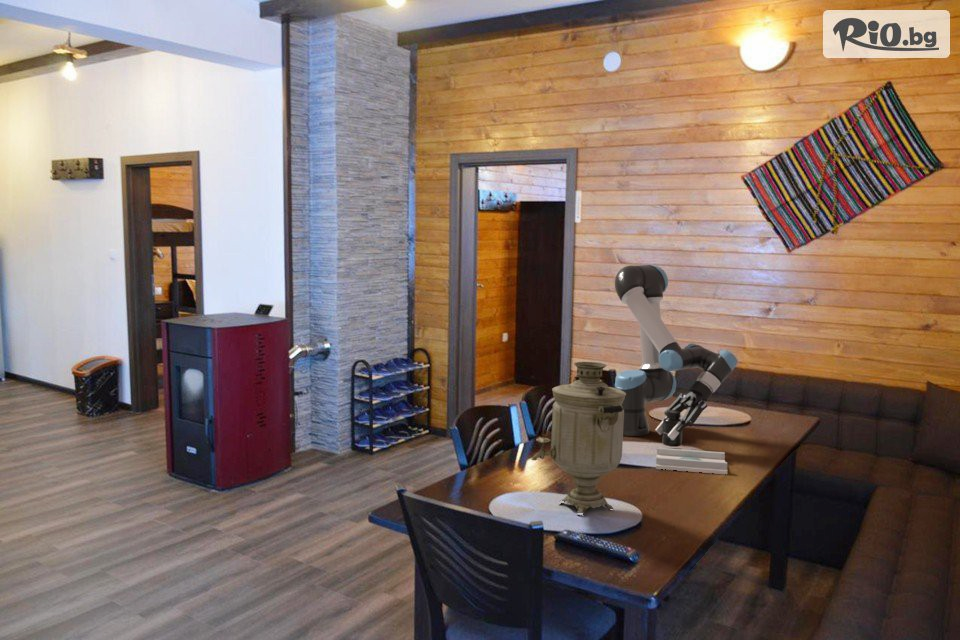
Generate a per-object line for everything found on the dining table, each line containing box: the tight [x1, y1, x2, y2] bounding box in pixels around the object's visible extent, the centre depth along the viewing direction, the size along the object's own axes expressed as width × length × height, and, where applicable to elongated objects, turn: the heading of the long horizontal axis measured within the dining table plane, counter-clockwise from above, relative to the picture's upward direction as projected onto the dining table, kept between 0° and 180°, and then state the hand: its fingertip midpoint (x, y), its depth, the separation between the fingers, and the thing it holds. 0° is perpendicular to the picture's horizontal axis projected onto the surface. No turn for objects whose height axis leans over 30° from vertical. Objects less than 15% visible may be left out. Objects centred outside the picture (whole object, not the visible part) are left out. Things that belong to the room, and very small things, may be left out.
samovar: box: [531, 361, 626, 514], centre depth 202 cm, size 30×26×40 cm
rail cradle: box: [655, 447, 729, 475], centre depth 243 cm, size 22×16×3 cm
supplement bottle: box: [661, 410, 684, 448], centre depth 261 cm, size 7×7×12 cm
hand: (664, 434), depth 260 cm, fingers closed on supplement bottle, 7 cm apart
